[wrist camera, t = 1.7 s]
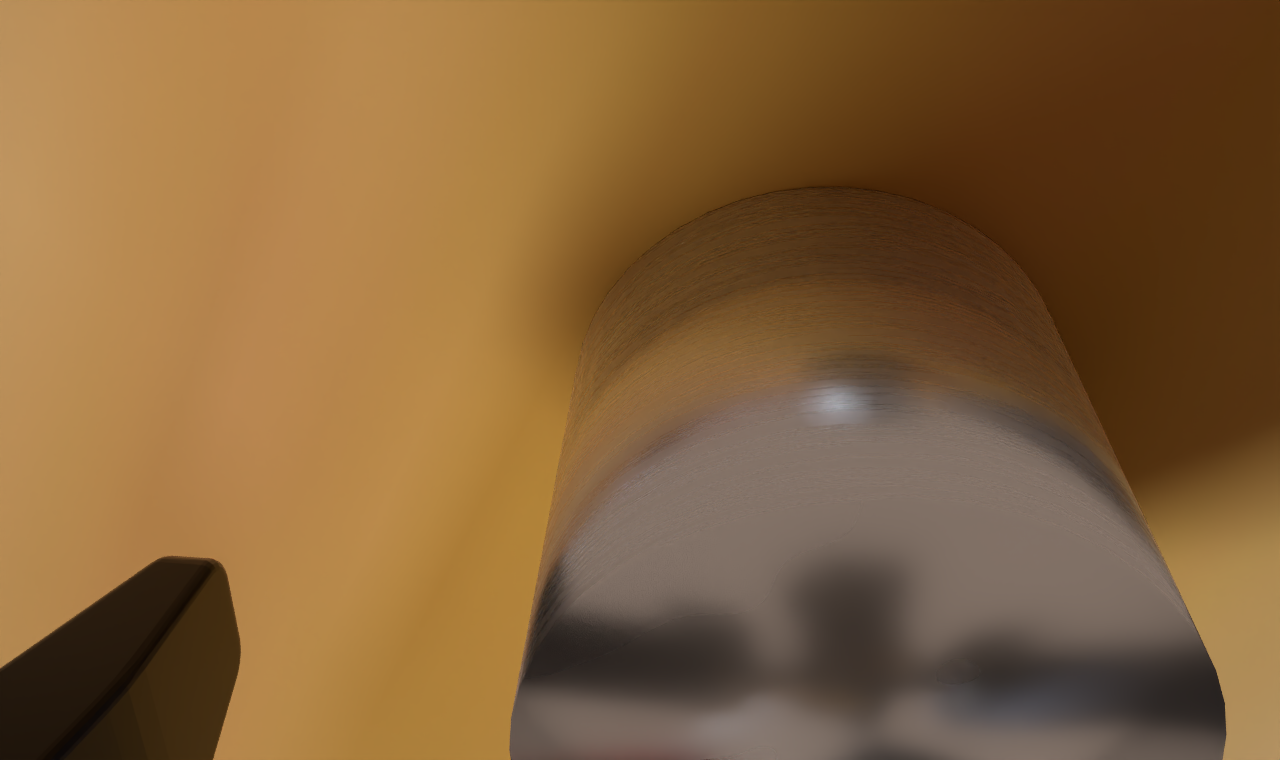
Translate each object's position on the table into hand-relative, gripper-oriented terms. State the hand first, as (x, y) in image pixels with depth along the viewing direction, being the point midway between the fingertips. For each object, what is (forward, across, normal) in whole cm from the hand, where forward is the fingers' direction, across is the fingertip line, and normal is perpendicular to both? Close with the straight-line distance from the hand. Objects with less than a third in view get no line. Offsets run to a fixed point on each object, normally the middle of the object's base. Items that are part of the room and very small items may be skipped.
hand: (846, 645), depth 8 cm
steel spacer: (+3, 0, 0) cm, 3 cm away
